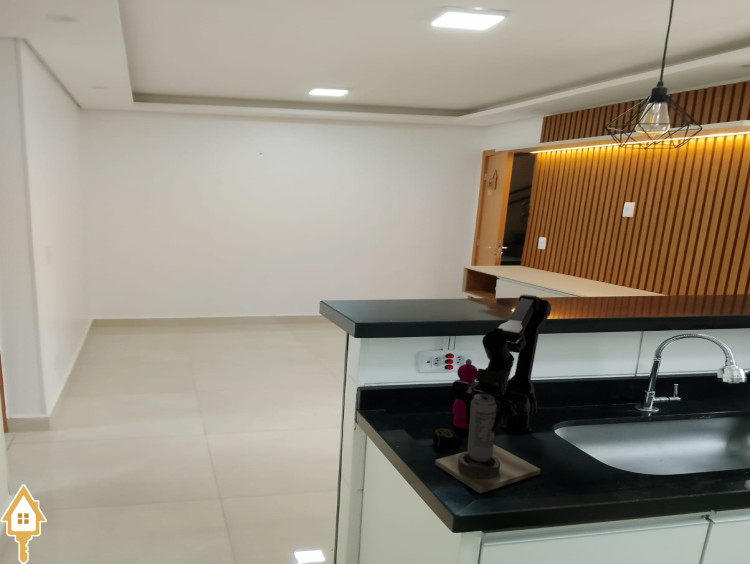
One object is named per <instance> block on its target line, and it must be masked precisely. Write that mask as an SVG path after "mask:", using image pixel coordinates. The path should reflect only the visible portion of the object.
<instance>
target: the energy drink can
mask: <svg viewBox="0 0 750 564" xmlns="http://www.w3.org/2000/svg"><path fill="white" fill-rule="evenodd" d="M494 399H495V398H494V397H493V396H492V395H489V394H476V395H474V399H473V400H472V401H471V409H470V423H469V429H468V439H467V451H466V452H468V454H469V456H470V457H471V458H472V459H474V460H476V461H488V460H489V459H490V457H492V456H493V446H494V445H495V444H494V443H495V442H494V441H495V433H496V432H495V433H494V432H493V431H492V429H493V425H494V422H495V420H496V417H497V407H498V405H497V402H495V400H494Z"/></svg>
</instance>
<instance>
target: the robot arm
mask: <svg viewBox="0 0 750 564" xmlns="http://www.w3.org/2000/svg"><path fill="white" fill-rule="evenodd" d="M518 297H519V298H518V303H517V304H516V306H515V308H514V310H513V311H512V313H511V316H510V317H509V319H508V320H507V322H504V323H501V324H500V325H499V326H498V327H494V329H493V331H492V330H491V331H489V332H487V333H486V334H485V335H484V336H483V337H482V346H483V349H484V351H485V354H486V356H487V357H486V358H487V359H488V360H489V362H488V365H487V367H485V369H484V368H479V367H478V368H477V370H478V373H477V377H476V380H475V381H476V383H477V387H478V388H480V389H476V388H474V389H473V388H472V387H471V386H470V383H469V382H464V381H460V380H459V379H455V380H454V381H453V382H452V384H451V387H450V389H451V391H452V394H453V396H454V398H455V400H456V399H458V400H463V401H464V403H465V404H466V424H467V426H469V423H470V409H471V401H472V400H473V399H474V395H476V394H489V395H492V396H493V397H494V398H495V399H494V400H495V402H496V403H500V407H499V410H498V412H497V414H496V420H495V422H494V425H493V429H492V431H493V432H494V433H496V432H497V431H498V429H499V428H500V427H502V428H503V429H505V430H507V431H510V432H511V433H513V434H515V435H517V436H521V435H525V434H527V433H532V432H534V429H533V428H531V427H530V425H531V423H530V422H531V415H534V414H537V411H538V402H537V397H536V394H535V386H534V384H533V381H532V379H531V378H532V374H533V368H534V367H533V366H534V361H535V356H536V350H537V346H538V340H539V334H540V330H541V329H542V328H543V327H544V326H545V325H546V324H547V323H548V322H547V321H548V318H549V316H551V311H552V305H551V303H550V302H549V301H548V299H542V298H540V297H539V296H537V295H532V294H525V293H523V294H520V295H519V296H518ZM512 353H514V354H515V353H516V354H518V356H517V360H516V361H517V362H516V366H515V372H514V375H513V376H512V377H511V378H510V375H511V372H512V368H513V366H514V362H515V358H514V355H513V354H512ZM505 422H506V424H505V425H504V423H505Z"/></svg>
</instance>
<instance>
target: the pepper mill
mask: <svg viewBox="0 0 750 564" xmlns="http://www.w3.org/2000/svg"><path fill="white" fill-rule="evenodd" d="M456 373H457V377H458V378H459V379H458V380H460V381H464V382H469V383H470V386H471V387H472V388H473V389H475V387H476V386H477V385H476V383H477V382H476V377H477V373H478V368H477V366H475V365H474V364H472V360H471V359H470V358H468V359H466V360H465V363H463V364H461V365H460V366H459V367H458V369H457V372H456ZM452 414H453V415H454V417H453V425H454V427H456V428H458V427H459V429H463V430H469V426H467V424H466V404H465V403H464V401H463V400H458V399H456V398H455V401H454V403H453V406H452Z"/></svg>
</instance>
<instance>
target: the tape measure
mask: <svg viewBox="0 0 750 564" xmlns="http://www.w3.org/2000/svg"><path fill="white" fill-rule="evenodd" d="M432 441H433V443H434V445H436V446H437V447H440V448H441V449H453V448H458V447H460V446H462V443H463V439H462V438H461V436H460V435H459V434H457V433H456V432H454V430H452V428H451V427H450V428H438V429H436V430H435V431H434V432H433V435H432Z"/></svg>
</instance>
